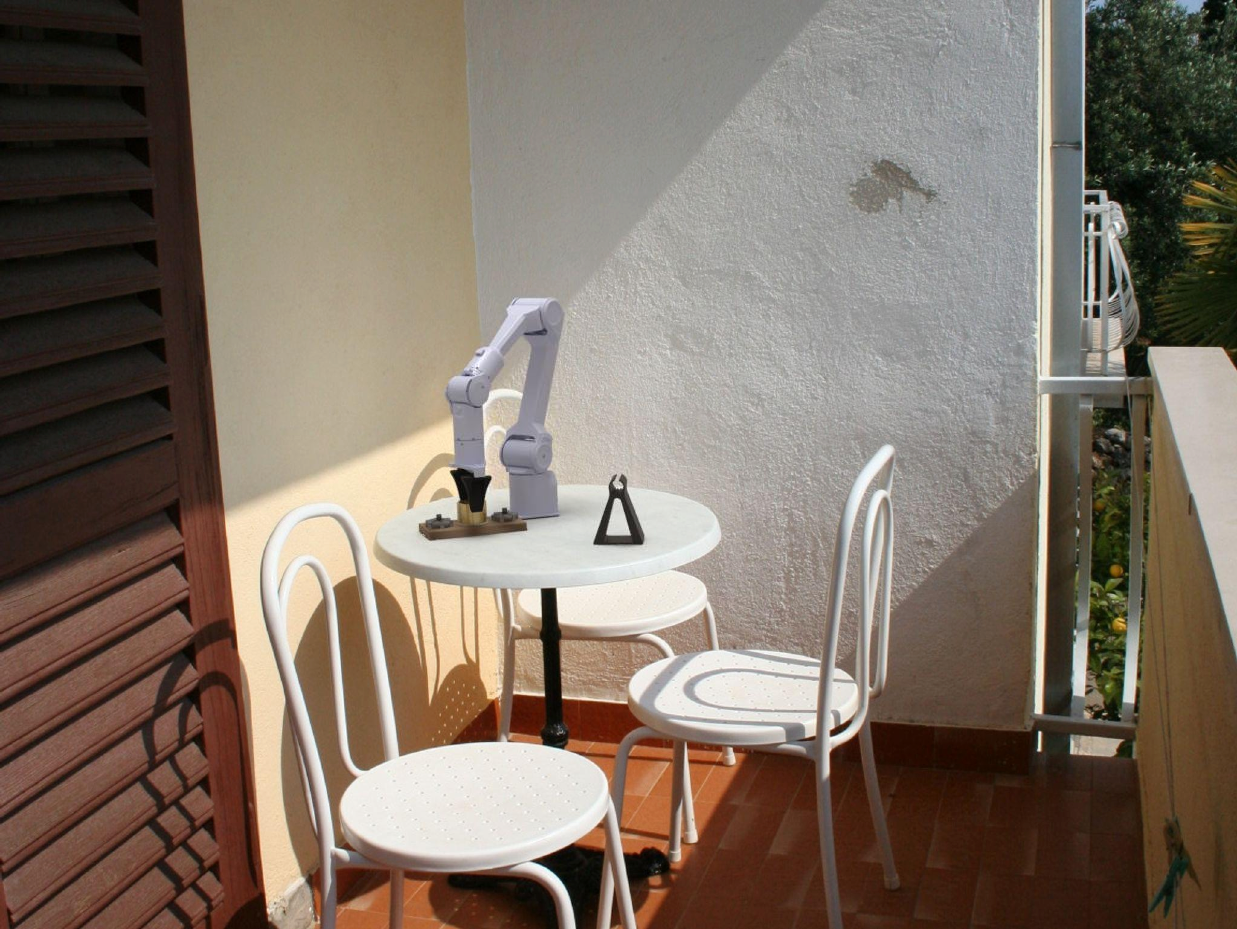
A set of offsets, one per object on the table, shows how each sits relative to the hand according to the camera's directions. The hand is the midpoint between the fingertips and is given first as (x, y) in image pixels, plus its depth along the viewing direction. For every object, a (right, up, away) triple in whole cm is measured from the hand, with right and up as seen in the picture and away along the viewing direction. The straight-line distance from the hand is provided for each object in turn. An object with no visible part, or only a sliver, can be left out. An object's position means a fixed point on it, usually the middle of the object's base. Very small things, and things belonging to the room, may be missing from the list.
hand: (471, 508), depth 236 cm
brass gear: (0, -3, 0) cm, 3 cm away
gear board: (0, -4, +1) cm, 4 cm away
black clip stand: (+28, -6, -11) cm, 31 cm away
